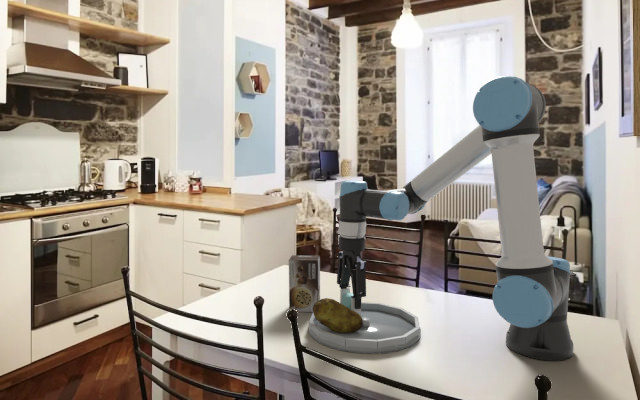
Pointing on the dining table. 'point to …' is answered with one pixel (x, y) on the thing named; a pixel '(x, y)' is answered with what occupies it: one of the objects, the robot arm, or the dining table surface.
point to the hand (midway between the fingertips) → (350, 314)
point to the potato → (337, 316)
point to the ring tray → (372, 331)
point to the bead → (347, 300)
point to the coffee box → (304, 282)
